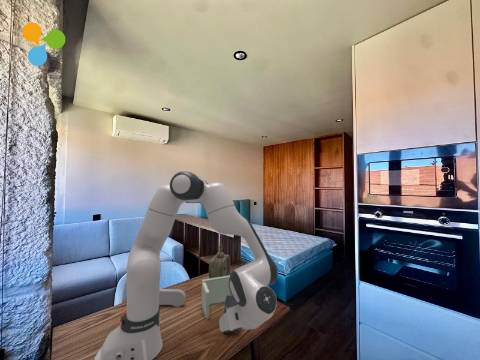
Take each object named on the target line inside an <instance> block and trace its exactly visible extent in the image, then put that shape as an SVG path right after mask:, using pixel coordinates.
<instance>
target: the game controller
mask: <svg viewBox="0 0 480 360" xmlns="http://www.w3.org/2000/svg"><path fill="white" fill-rule="evenodd" d="M186 295H187V294H186V293H185V292H184V291H183V290H182V289H178V288H172V289H171V288H159V306H165V305H166V306H173V307H176V308H179V307H181V306H183V305H184V304H185V302H186V299H187V296H186Z"/></svg>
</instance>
